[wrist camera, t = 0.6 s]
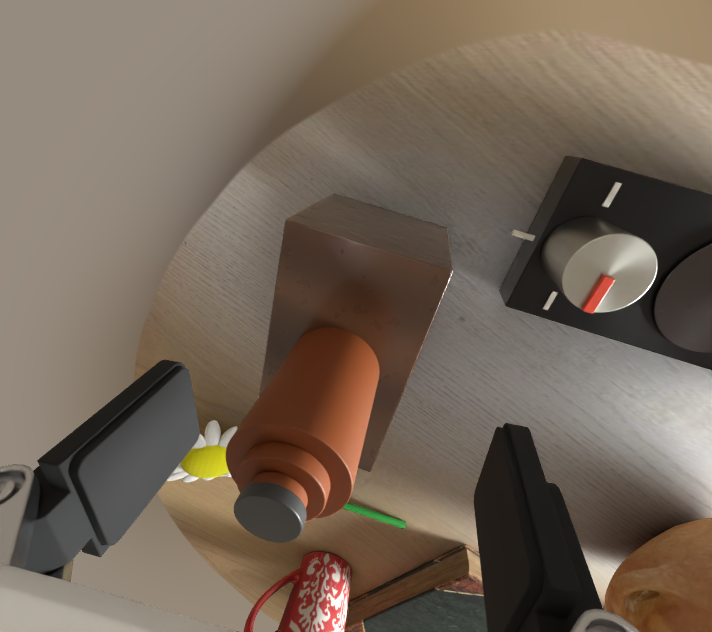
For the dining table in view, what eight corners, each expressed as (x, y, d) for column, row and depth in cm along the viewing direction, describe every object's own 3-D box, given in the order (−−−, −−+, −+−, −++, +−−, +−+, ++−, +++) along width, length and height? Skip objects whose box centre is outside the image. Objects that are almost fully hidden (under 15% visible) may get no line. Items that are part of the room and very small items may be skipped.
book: (466, 541, 42) (345, 602, 53) (468, 574, 39) (340, 631, 50) (570, 614, 44) (433, 657, 56) (580, 651, 41) (432, 688, 53)
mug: (371, 571, 48) (351, 710, 37) (337, 592, 53) (309, 723, 41) (295, 524, 47) (248, 653, 35) (266, 550, 51) (216, 673, 40)
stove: (538, 148, 23) (552, 149, 20) (817, 226, 22) (872, 239, 19) (476, 283, 28) (481, 299, 25) (703, 353, 27) (734, 378, 24)
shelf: (333, 193, 27) (285, 219, 18) (447, 227, 26) (453, 271, 18) (299, 357, 35) (253, 432, 26) (387, 387, 34) (370, 472, 25)
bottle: (299, 314, 21) (199, 444, 12) (391, 344, 20) (357, 500, 12) (285, 386, 23) (195, 535, 15) (366, 413, 23) (323, 583, 14)
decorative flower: (429, 475, 41) (176, 383, 37) (432, 518, 37) (149, 420, 33) (381, 523, 48) (163, 450, 44) (380, 563, 44) (139, 487, 40)
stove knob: (562, 207, 22) (592, 224, 17) (633, 228, 21) (682, 250, 17) (528, 272, 24) (548, 301, 20) (592, 292, 24) (627, 325, 19)
